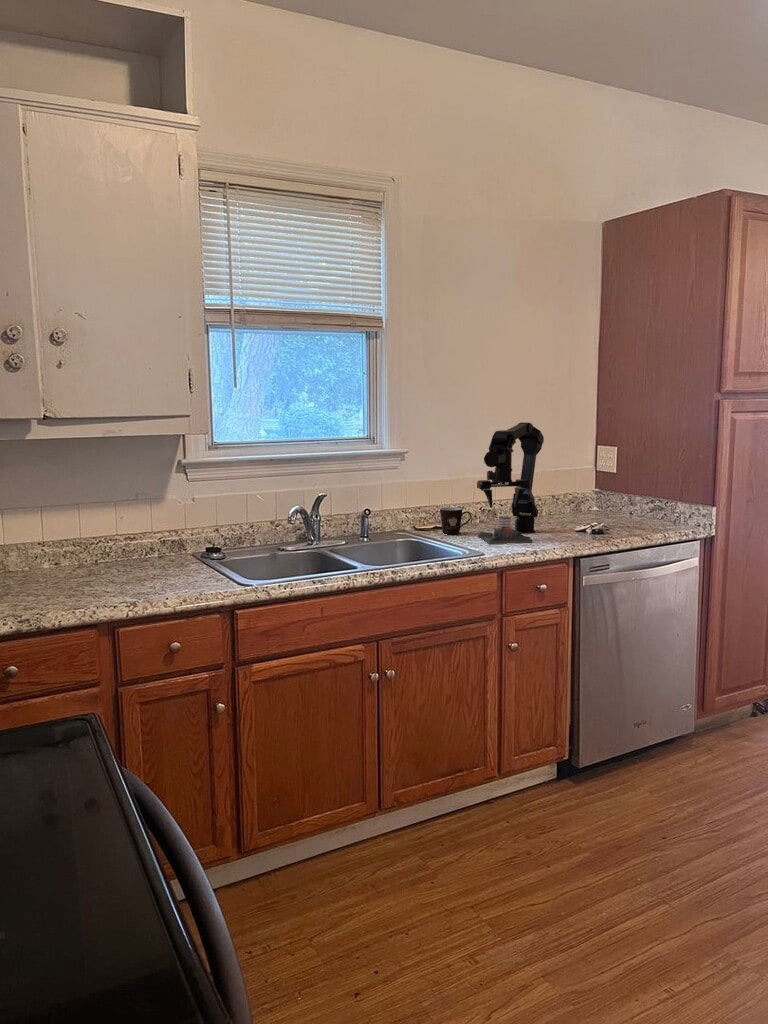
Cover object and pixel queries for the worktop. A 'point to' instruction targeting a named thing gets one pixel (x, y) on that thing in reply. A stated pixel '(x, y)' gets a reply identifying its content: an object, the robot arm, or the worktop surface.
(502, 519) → the column
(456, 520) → the coffee mug
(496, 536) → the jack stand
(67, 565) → the worktop surface
